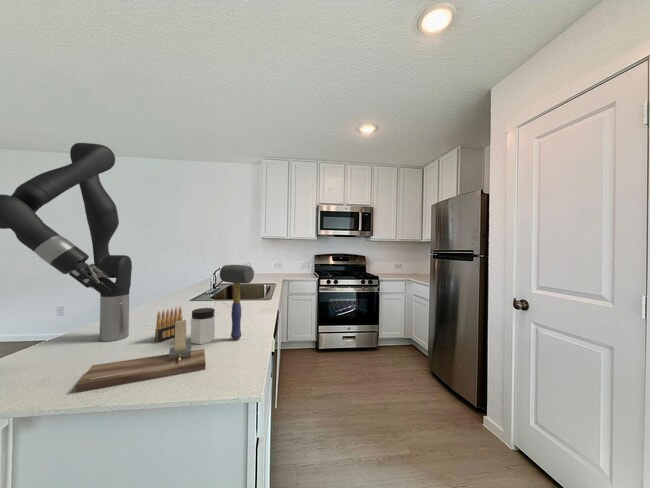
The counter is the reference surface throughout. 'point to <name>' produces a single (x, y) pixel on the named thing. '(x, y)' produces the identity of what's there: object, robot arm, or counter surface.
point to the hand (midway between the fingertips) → (111, 290)
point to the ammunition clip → (167, 325)
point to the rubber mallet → (236, 291)
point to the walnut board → (139, 370)
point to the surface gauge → (180, 343)
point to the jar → (202, 326)
